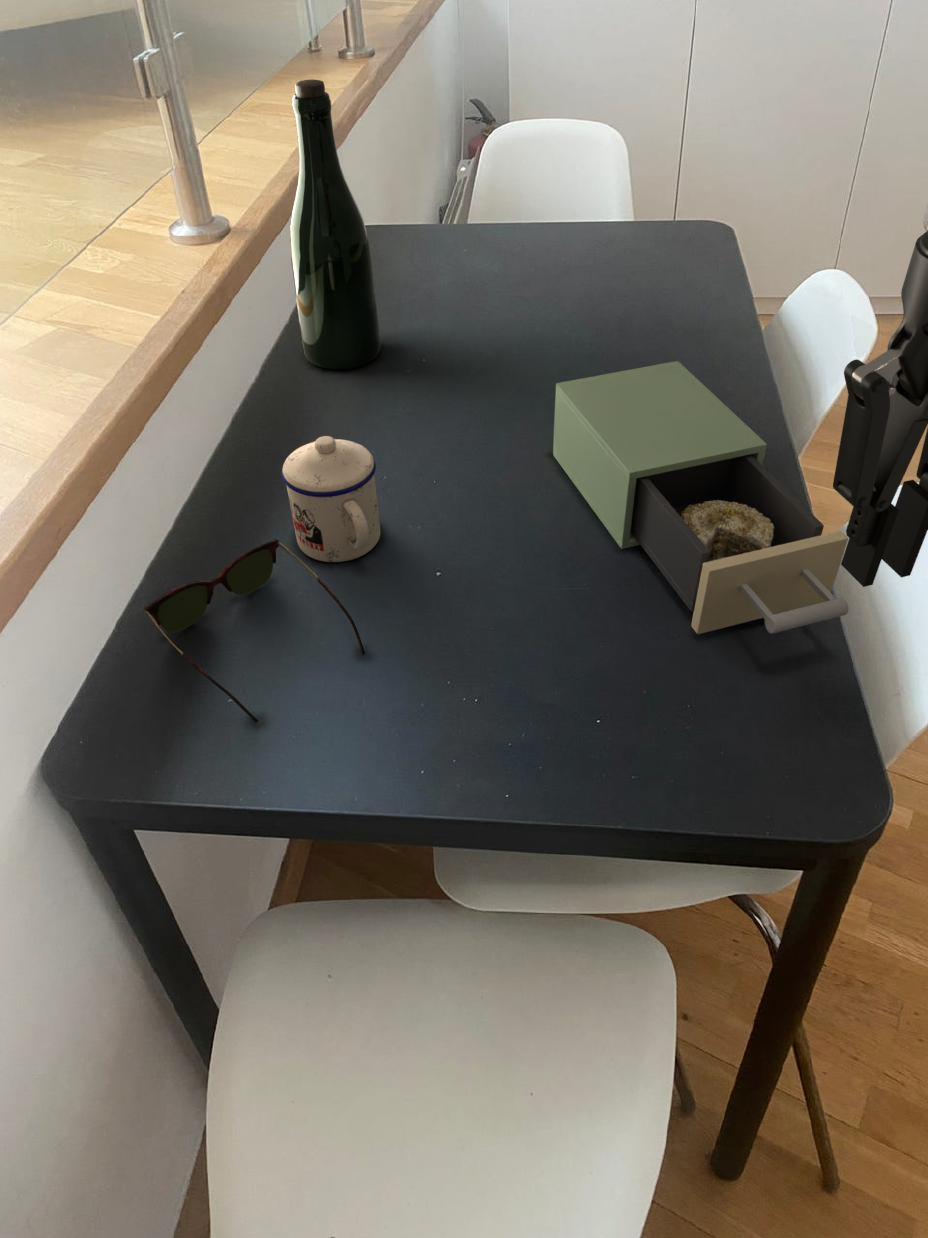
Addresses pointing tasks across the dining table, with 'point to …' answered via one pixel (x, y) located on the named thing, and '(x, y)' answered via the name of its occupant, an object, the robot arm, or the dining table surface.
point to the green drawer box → (640, 435)
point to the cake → (728, 528)
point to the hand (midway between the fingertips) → (875, 569)
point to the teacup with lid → (333, 499)
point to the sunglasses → (238, 578)
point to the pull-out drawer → (747, 583)
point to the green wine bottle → (329, 245)
